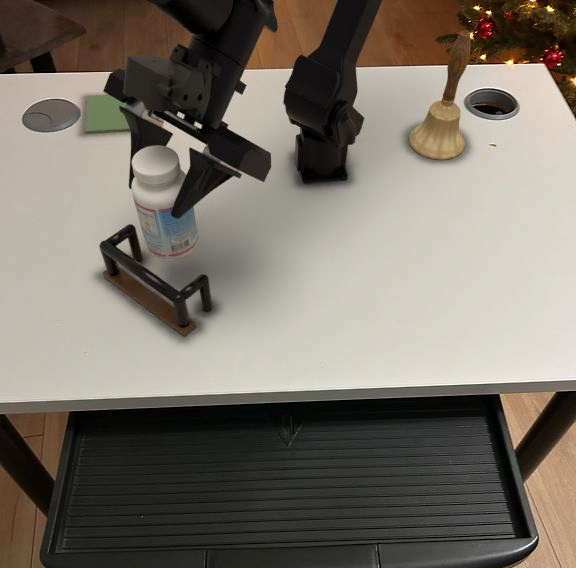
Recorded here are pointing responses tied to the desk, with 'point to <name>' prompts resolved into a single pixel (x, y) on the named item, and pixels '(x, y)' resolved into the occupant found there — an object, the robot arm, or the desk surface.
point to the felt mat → (104, 115)
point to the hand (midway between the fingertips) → (153, 203)
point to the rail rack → (151, 282)
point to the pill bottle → (162, 203)
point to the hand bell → (444, 111)
